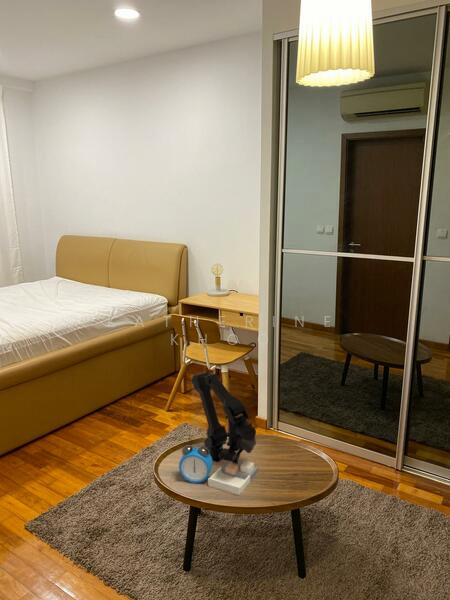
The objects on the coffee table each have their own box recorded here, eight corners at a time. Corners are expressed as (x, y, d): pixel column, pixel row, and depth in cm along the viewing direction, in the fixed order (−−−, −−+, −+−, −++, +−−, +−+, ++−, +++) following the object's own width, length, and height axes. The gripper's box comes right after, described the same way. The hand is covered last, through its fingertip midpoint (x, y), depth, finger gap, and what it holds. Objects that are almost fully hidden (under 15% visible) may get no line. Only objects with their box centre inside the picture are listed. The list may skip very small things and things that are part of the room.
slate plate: (220, 473, 194) (220, 468, 193) (229, 464, 201) (229, 458, 200) (250, 482, 187) (250, 476, 187) (258, 472, 194) (258, 466, 194)
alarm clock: (179, 482, 188) (177, 449, 185) (183, 473, 194) (181, 441, 191) (210, 485, 186) (209, 451, 183) (213, 476, 192) (212, 443, 189)
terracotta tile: (225, 472, 190) (225, 466, 190) (230, 467, 194) (230, 461, 193) (234, 474, 188) (234, 469, 188) (239, 469, 192) (239, 464, 192)
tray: (208, 486, 185) (208, 478, 185) (220, 473, 194) (220, 466, 193) (239, 495, 179) (239, 487, 178) (250, 482, 187) (250, 474, 187)
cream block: (240, 471, 191) (240, 465, 190) (244, 466, 195) (244, 460, 194) (249, 473, 189) (249, 468, 189) (253, 468, 193) (253, 463, 192)
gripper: (243, 445, 179) (243, 481, 182) (261, 425, 195) (262, 458, 198) (217, 439, 184) (219, 474, 187) (238, 420, 200) (238, 452, 203)
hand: (235, 464), depth 194 cm, fingers closed
